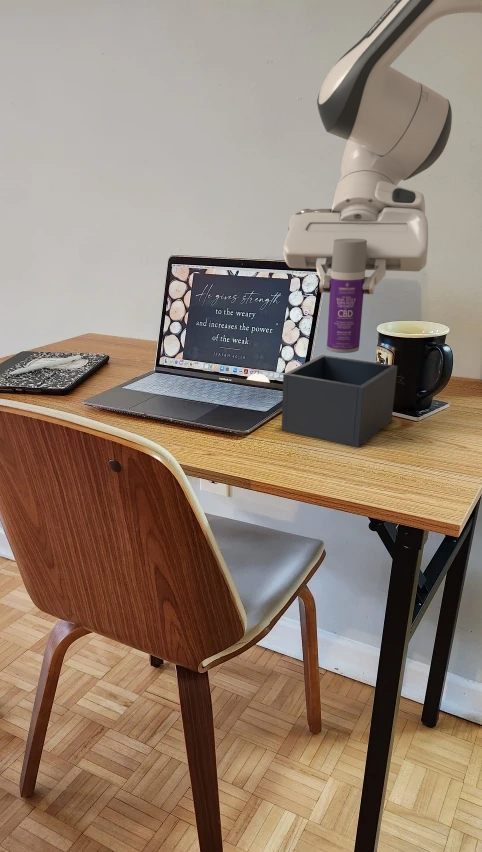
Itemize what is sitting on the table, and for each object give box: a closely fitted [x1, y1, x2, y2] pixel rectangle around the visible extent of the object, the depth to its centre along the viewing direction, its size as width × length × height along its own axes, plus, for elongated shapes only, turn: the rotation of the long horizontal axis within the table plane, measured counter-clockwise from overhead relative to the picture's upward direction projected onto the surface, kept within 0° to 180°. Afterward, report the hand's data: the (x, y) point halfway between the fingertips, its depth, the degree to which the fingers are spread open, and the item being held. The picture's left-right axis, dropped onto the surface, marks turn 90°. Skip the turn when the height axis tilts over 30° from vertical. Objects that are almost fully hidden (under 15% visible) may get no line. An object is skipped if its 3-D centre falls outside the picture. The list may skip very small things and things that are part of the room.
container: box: [326, 238, 367, 354], centre depth 97 cm, size 5×5×15 cm
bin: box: [281, 354, 398, 448], centre depth 104 cm, size 13×13×9 cm
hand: (346, 291), depth 96 cm, fingers closed on container, 4 cm apart
